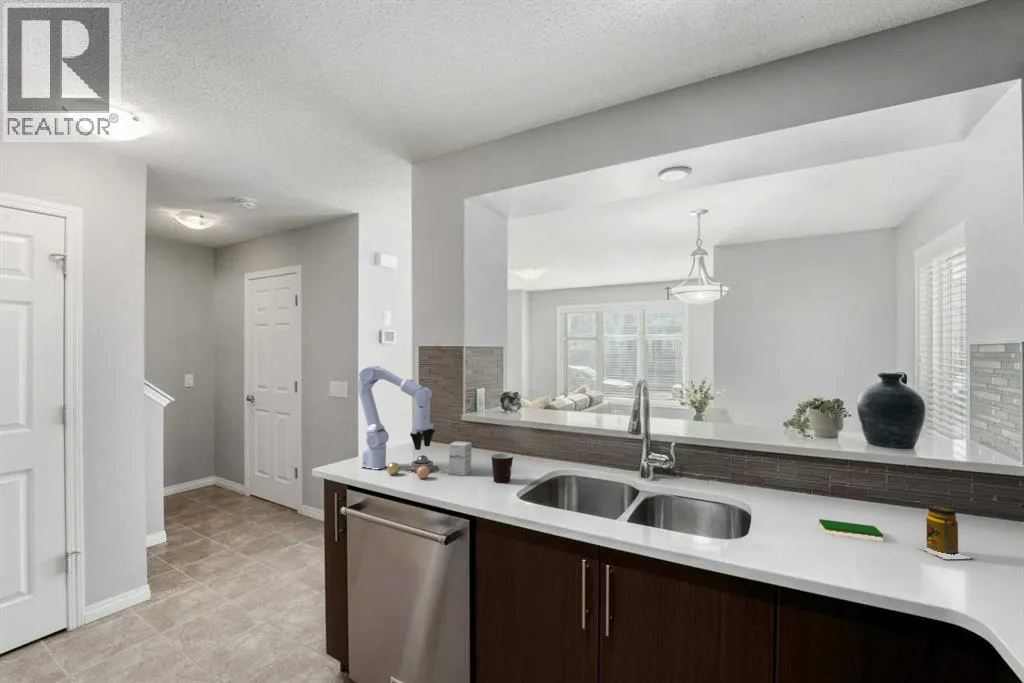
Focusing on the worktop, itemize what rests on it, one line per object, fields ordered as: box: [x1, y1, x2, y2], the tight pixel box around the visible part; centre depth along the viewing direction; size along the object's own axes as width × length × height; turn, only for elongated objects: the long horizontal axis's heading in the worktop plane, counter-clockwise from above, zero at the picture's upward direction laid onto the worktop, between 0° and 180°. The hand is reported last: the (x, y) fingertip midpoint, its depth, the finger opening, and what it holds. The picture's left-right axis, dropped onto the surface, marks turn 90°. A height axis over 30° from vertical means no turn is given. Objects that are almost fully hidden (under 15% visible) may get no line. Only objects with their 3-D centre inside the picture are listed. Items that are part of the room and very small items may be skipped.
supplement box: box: [448, 440, 473, 476], centre depth 191 cm, size 7×7×13 cm
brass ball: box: [386, 461, 401, 476], centre depth 187 cm, size 5×5×5 cm
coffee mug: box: [490, 453, 514, 484], centre depth 181 cm, size 12×9×10 cm
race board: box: [405, 459, 439, 473], centre depth 195 cm, size 10×10×3 cm
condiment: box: [925, 504, 959, 555], centre depth 119 cm, size 7×8×12 cm
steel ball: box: [416, 454, 430, 465], centre depth 195 cm, size 5×5×5 cm
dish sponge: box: [818, 518, 884, 539], centre depth 132 cm, size 7×14×2 cm, turn 68°
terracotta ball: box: [416, 466, 430, 480], centre depth 182 cm, size 5×5×5 cm
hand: (422, 447), depth 195 cm, fingers open, 7 cm apart
